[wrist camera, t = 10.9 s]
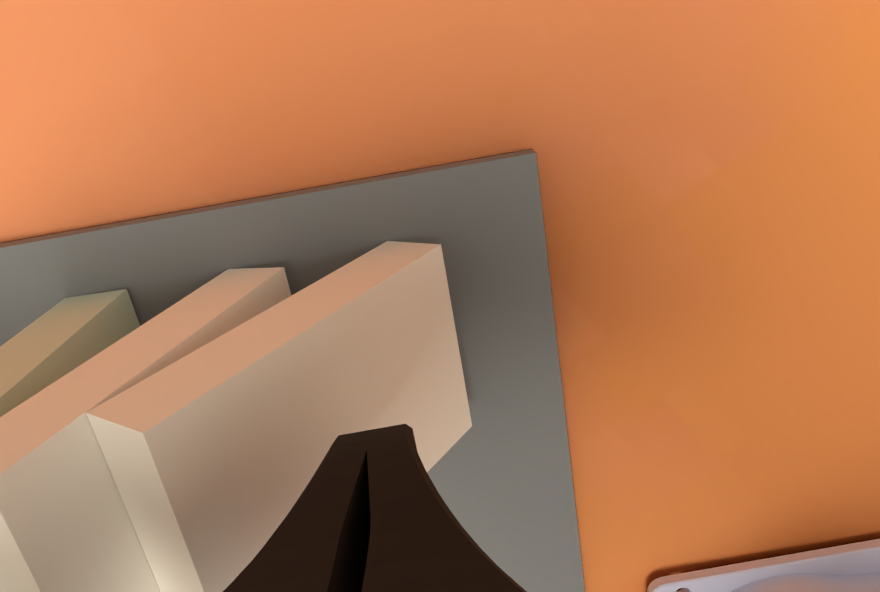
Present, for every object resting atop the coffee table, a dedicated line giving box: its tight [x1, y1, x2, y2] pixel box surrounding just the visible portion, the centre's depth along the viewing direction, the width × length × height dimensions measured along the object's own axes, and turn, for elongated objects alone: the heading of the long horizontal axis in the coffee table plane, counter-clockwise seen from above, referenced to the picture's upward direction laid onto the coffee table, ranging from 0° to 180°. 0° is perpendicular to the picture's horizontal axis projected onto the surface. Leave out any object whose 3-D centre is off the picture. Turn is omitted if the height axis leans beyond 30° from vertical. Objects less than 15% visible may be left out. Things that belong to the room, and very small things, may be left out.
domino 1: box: [0, 267, 291, 592], centre depth 14 cm, size 2×5×8 cm, turn 10°
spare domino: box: [0, 289, 140, 417], centre depth 14 cm, size 2×5×8 cm, turn 9°
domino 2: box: [86, 241, 472, 592], centre depth 15 cm, size 2×5×8 cm
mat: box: [0, 149, 585, 592], centre depth 20 cm, size 20×18×1 cm
